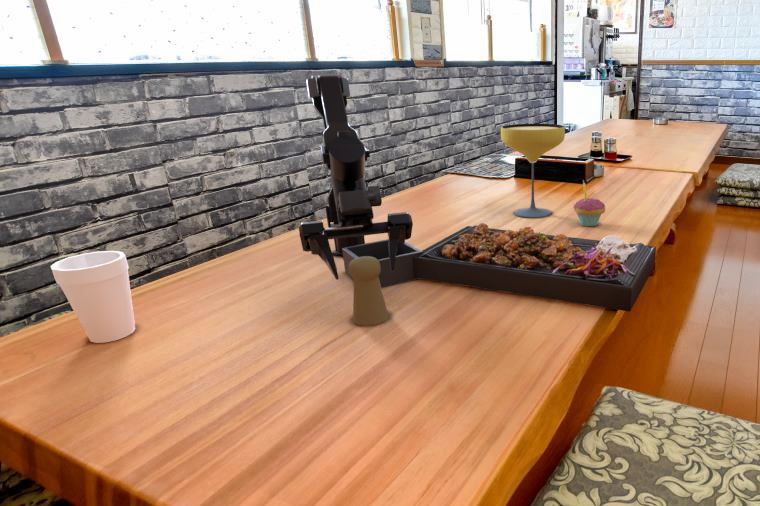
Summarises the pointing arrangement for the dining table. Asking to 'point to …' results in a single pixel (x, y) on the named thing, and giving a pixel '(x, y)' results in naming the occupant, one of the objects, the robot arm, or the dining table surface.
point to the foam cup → (98, 293)
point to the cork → (367, 292)
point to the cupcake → (589, 210)
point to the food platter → (541, 265)
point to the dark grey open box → (385, 260)
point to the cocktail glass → (532, 151)
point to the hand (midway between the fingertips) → (365, 274)
